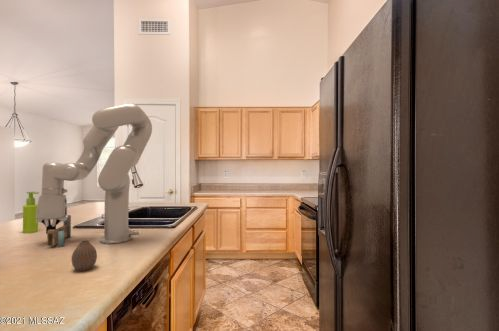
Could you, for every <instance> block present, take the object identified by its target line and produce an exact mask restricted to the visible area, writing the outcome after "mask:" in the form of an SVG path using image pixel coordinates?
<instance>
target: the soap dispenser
mask: <svg viewBox="0 0 499 331" xmlns="http://www.w3.org/2000/svg"><path fill="white" fill-rule="evenodd" d="M39 193H40V192H38V191H27V192H26V194H28V197H27V198H26V200H25V202H26V204H25V205H23V206H22V233H23V234H32V233H33V234H34V233H37V232H38V231H39V222H36V210H37V204H36V198H35V197H34V195H38V194H39Z"/></svg>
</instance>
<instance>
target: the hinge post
mask: <svg viewBox="0 0 499 331" xmlns="http://www.w3.org/2000/svg"><path fill="white" fill-rule="evenodd" d="M66 219H67V220H66V221H63V222H62V224H63V225H67V237H65V238H64V239H70V238H72V237H71V236H72V229H71V228H72V226H71V224H72V223H71V222H72V216H71V214H69V215H68V214H67V216H66ZM63 225H62V226H63Z"/></svg>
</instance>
